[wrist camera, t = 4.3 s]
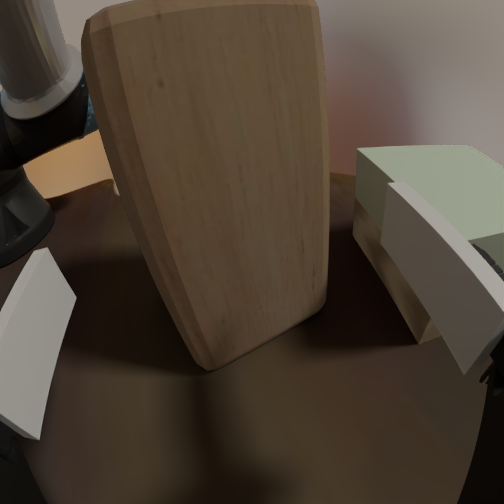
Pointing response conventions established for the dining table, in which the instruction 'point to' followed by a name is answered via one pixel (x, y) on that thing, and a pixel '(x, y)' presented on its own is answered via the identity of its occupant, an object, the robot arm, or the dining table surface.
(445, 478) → the dining table surface
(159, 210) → the block
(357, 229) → the tower base slab
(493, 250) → the tower top slab
